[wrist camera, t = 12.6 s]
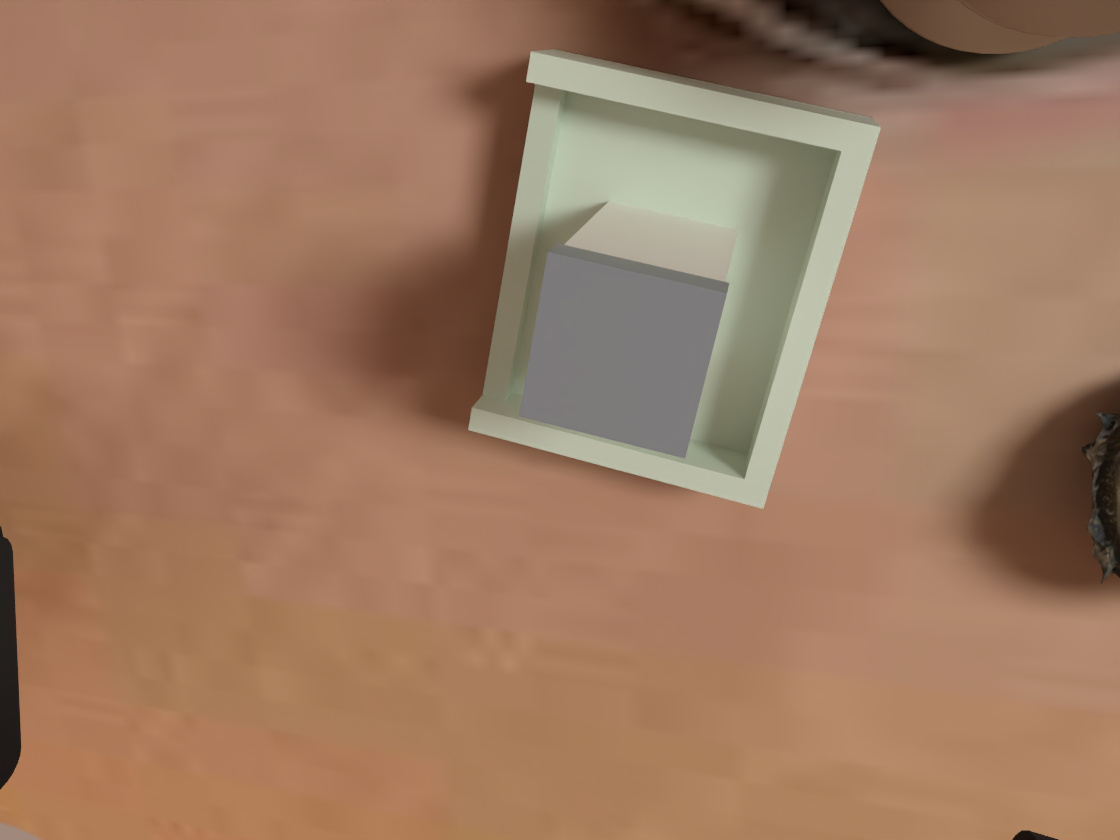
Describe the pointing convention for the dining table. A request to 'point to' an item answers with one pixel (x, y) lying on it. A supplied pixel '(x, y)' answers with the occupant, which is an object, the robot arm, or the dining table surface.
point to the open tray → (700, 194)
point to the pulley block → (1106, 494)
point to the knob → (1005, 22)
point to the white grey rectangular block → (628, 327)
